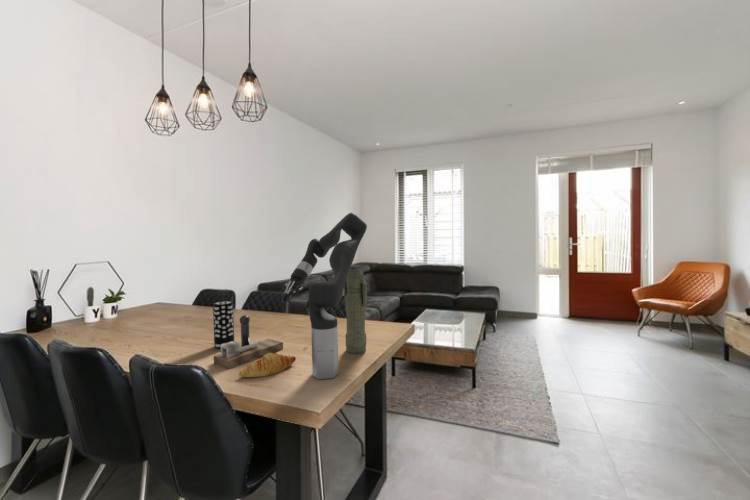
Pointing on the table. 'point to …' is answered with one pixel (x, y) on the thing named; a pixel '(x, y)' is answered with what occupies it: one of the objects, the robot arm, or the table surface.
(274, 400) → the table surface
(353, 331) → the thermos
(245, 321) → the bolt
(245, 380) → the table surface
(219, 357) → the door board
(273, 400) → the table surface
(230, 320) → the spotted tube
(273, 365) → the croissant
